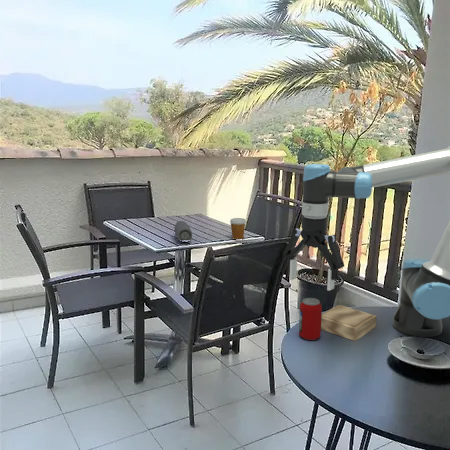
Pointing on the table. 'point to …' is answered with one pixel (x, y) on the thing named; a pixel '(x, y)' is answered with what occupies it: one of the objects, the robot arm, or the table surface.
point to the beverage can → (310, 319)
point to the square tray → (347, 322)
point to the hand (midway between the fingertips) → (311, 284)
